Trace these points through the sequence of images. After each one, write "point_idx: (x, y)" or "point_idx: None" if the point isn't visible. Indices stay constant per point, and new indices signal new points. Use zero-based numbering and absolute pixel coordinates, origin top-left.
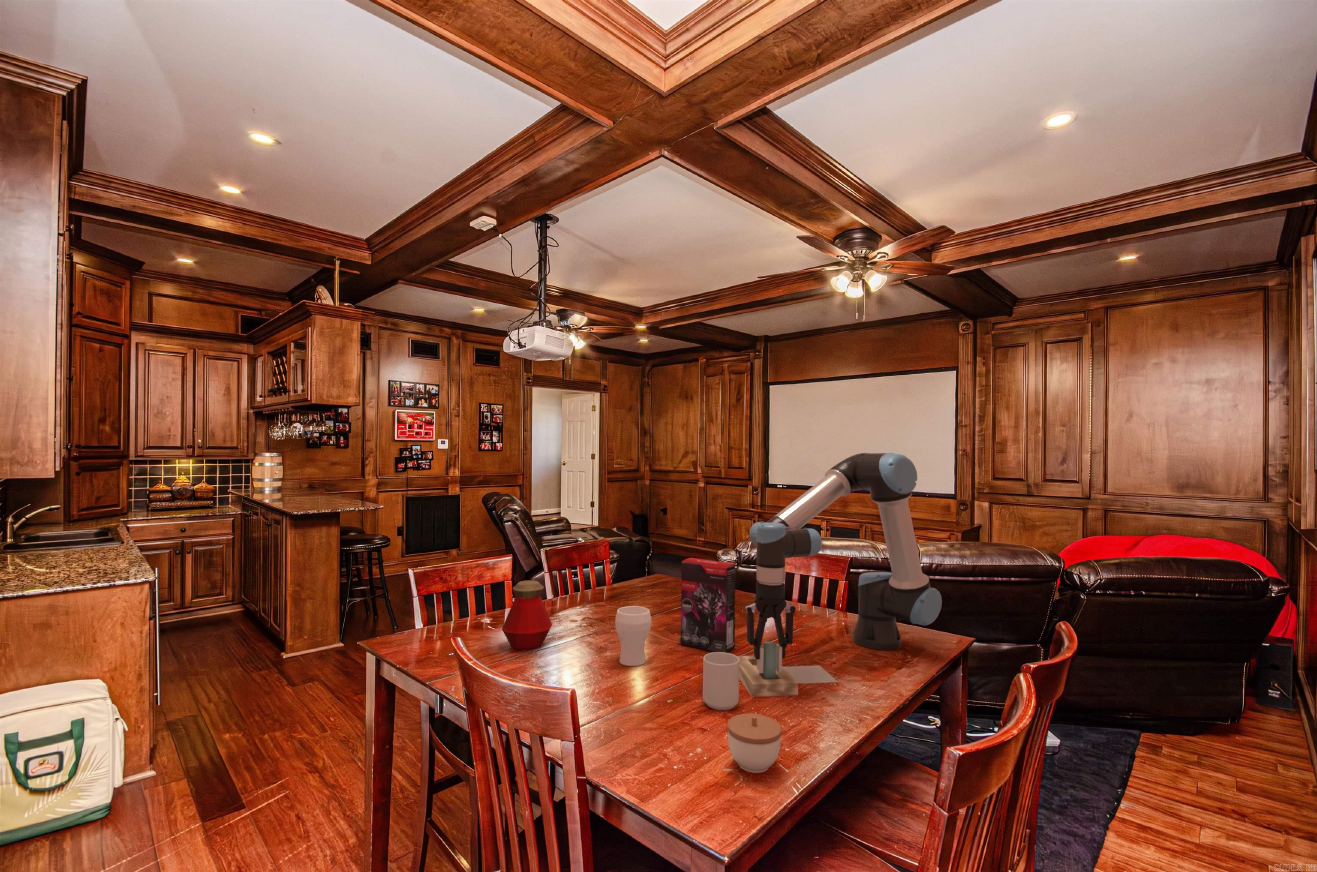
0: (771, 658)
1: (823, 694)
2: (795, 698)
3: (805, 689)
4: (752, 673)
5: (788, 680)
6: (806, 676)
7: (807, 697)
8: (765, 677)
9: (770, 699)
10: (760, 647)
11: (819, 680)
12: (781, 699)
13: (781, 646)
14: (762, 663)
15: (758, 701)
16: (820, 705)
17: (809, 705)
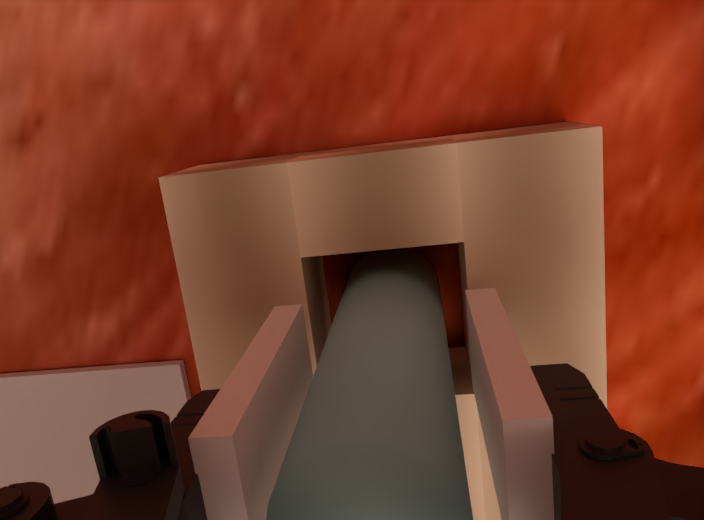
0: (372, 347)
1: (12, 204)
2: (226, 129)
3: (125, 287)
4: None
5: (236, 224)
6: (82, 477)
7: (134, 149)
8: (432, 295)
9: (425, 104)
10: (548, 441)
11: (3, 411)
12: (338, 107)
13: (190, 474)
14: (485, 322)
15: (534, 62)
16: (61, 6)
17: (143, 2)
